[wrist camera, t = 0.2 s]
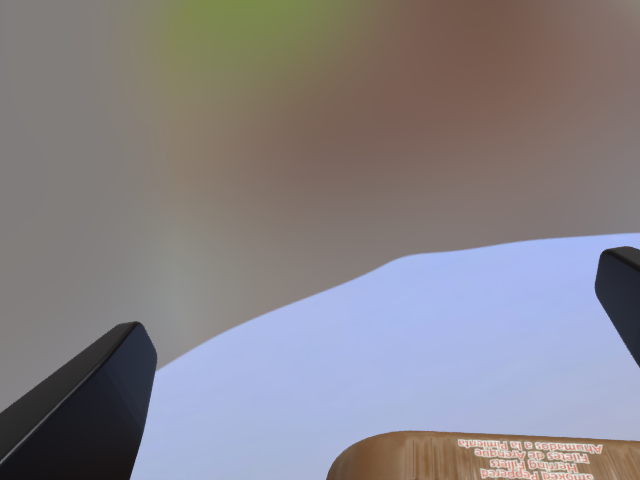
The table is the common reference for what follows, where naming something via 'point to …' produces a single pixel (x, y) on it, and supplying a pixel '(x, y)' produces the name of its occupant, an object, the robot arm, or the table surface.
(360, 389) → the table surface
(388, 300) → the table surface
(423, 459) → the tin
